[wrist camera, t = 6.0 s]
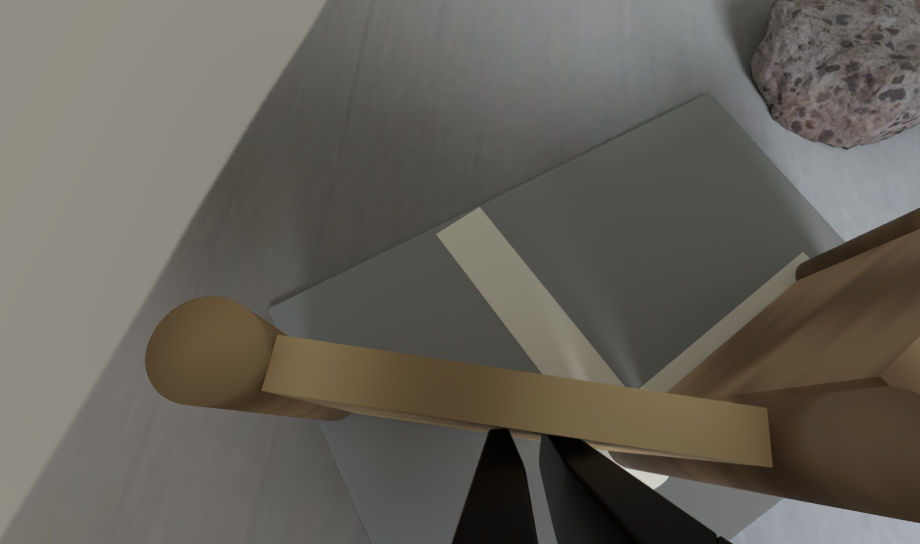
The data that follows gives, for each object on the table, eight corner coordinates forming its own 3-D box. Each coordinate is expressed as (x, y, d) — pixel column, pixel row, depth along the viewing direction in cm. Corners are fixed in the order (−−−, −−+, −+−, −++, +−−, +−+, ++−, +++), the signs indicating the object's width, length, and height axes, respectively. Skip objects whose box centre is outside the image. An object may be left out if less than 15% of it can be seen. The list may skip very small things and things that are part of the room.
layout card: (947, 364, 19) (956, 363, 19) (461, 742, 14) (462, 749, 14) (705, 96, 23) (709, 92, 23) (269, 310, 18) (266, 308, 18)
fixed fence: (625, 479, 17) (928, 555, 6) (591, 434, 17) (819, 436, 7) (839, 288, 20) (1272, 133, 10) (804, 254, 20) (1181, 72, 10)
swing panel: (593, 410, 17) (788, 381, 8) (592, 460, 16) (802, 497, 7) (317, 368, 17) (169, 288, 8) (305, 417, 17) (127, 396, 7)
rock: (745, 4, 26) (798, -68, 22) (931, 56, 25) (1019, -10, 22) (728, 120, 23) (785, 59, 19) (937, 183, 22) (1040, 132, 19)
